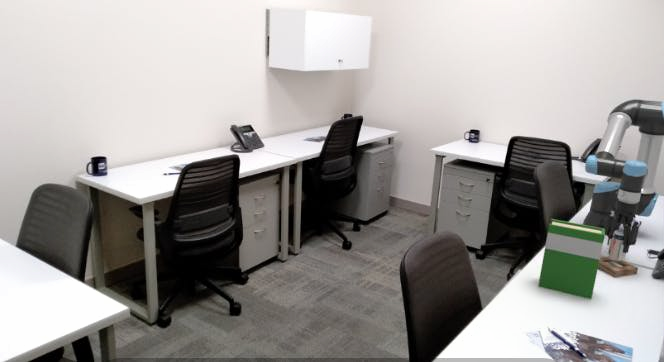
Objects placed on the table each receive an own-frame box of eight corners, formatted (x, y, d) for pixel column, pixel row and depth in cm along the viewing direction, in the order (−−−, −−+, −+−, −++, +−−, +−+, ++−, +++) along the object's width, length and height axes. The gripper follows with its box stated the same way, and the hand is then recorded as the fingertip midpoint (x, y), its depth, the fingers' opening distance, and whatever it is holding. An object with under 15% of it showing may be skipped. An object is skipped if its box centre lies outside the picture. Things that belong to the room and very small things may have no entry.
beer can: (610, 256, 213) (616, 228, 210) (623, 260, 210) (629, 231, 206) (606, 259, 209) (612, 230, 206) (619, 263, 206) (625, 234, 203)
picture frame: (611, 261, 218) (612, 255, 218) (636, 274, 208) (638, 267, 207) (589, 264, 214) (590, 258, 213) (614, 277, 203) (615, 271, 203)
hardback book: (538, 286, 192) (549, 224, 186) (540, 278, 198) (551, 218, 192) (591, 299, 185) (604, 235, 178) (591, 290, 191) (604, 228, 185)
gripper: (601, 194, 210) (590, 249, 216) (641, 208, 194) (628, 267, 200) (615, 193, 212) (603, 247, 219) (655, 207, 197) (642, 265, 203)
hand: (615, 256), depth 209 cm, fingers closed on beer can, 5 cm apart
